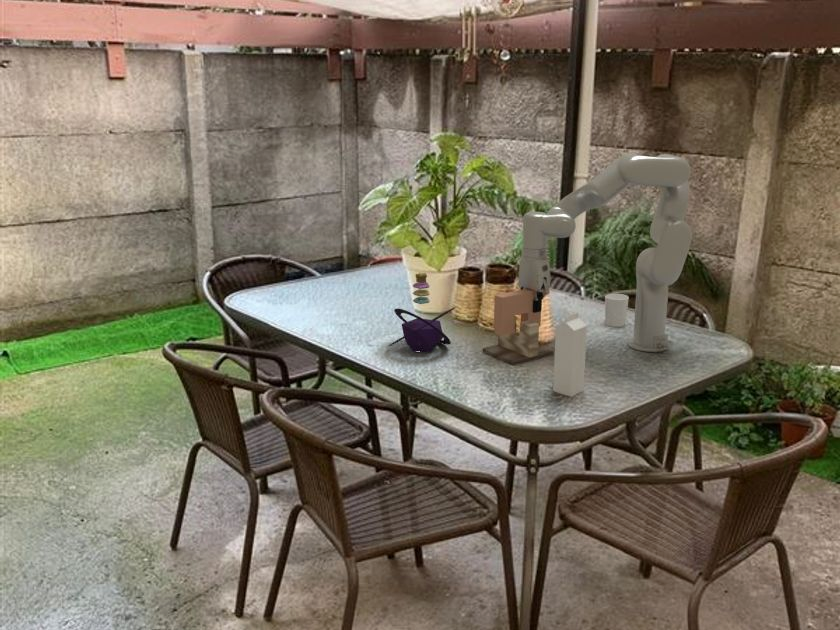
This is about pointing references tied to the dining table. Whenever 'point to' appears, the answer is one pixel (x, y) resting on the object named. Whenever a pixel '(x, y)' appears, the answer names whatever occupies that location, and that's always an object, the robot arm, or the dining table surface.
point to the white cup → (616, 309)
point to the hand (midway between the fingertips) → (532, 309)
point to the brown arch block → (513, 310)
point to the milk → (570, 356)
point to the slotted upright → (519, 345)
